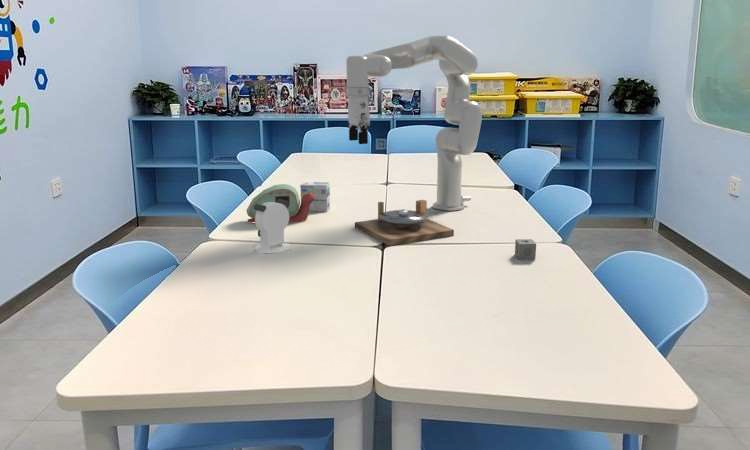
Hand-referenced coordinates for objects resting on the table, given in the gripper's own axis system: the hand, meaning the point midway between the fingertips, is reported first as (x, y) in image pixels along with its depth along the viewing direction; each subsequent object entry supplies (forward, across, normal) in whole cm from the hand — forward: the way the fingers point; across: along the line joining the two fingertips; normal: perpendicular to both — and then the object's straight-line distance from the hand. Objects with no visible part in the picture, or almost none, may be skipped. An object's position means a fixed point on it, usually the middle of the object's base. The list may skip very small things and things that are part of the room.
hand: (358, 142), depth 228 cm
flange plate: (+25, -16, -11) cm, 32 cm away
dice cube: (+30, -57, -33) cm, 72 cm away
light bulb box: (+30, +25, +9) cm, 40 cm away
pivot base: (+30, -17, -10) cm, 35 cm away
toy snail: (+30, +13, +26) cm, 42 cm away
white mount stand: (+30, -19, +36) cm, 50 cm away
